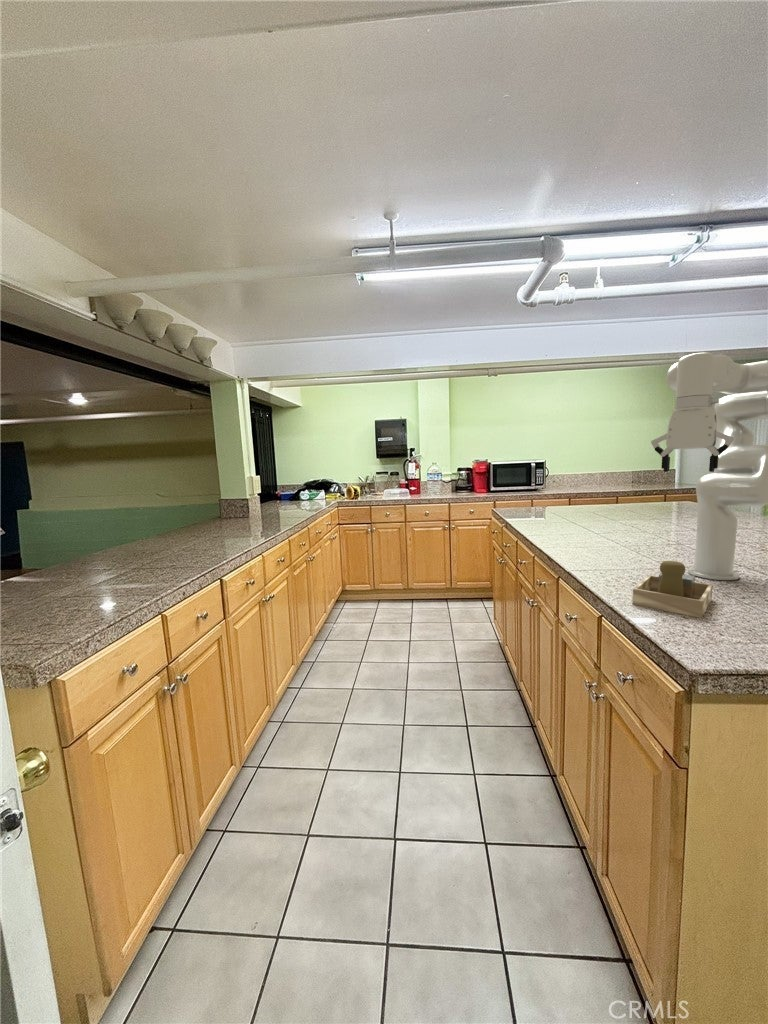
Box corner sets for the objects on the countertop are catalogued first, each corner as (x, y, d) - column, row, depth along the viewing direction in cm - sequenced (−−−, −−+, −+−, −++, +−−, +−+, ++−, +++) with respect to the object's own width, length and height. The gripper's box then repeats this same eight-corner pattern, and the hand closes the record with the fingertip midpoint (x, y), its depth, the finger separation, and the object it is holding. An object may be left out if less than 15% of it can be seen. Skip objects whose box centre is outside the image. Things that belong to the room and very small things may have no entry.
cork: (690, 609, 99) (693, 565, 98) (662, 608, 100) (664, 564, 99) (677, 601, 105) (680, 559, 103) (651, 599, 106) (653, 558, 105)
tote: (648, 590, 115) (649, 575, 114) (711, 601, 105) (712, 584, 105) (632, 606, 104) (633, 588, 103) (701, 620, 94) (702, 601, 93)
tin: (661, 592, 112) (663, 570, 111) (693, 598, 107) (695, 575, 106) (657, 597, 108) (658, 575, 107) (690, 603, 103) (692, 580, 102)
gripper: (738, 401, 102) (732, 471, 104) (656, 409, 114) (653, 470, 116) (735, 399, 96) (729, 472, 99) (650, 407, 108) (646, 472, 111)
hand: (688, 471), depth 107 cm, fingers open, 9 cm apart
